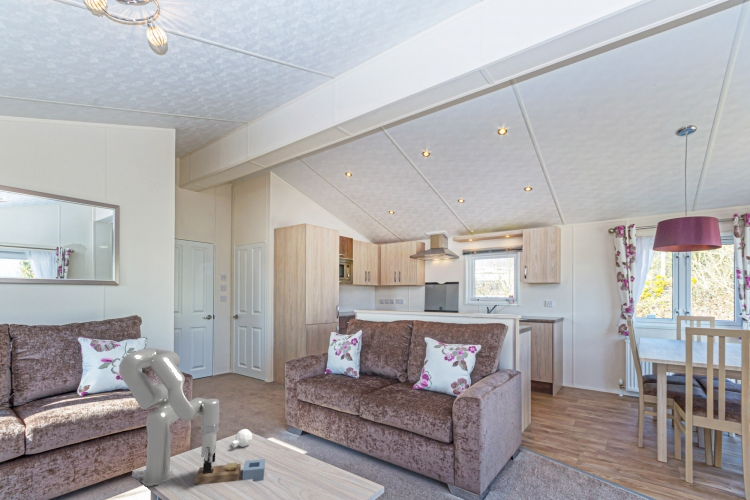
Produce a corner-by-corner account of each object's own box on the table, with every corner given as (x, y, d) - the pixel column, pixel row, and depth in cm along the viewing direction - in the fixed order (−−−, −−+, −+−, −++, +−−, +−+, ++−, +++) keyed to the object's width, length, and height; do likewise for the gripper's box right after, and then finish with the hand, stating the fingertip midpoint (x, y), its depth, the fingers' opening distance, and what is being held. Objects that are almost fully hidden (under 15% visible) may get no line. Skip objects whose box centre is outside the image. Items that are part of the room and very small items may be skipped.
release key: (225, 478, 175) (226, 466, 176) (226, 474, 179) (227, 463, 179) (235, 476, 176) (236, 465, 177) (236, 473, 180) (237, 462, 180)
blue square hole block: (242, 482, 174) (242, 470, 174) (244, 471, 184) (245, 460, 184) (263, 480, 176) (263, 468, 176) (264, 469, 186) (264, 459, 186)
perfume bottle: (243, 437, 221) (226, 447, 210) (246, 423, 219) (229, 432, 209) (254, 444, 217) (237, 455, 206) (257, 430, 215) (240, 440, 205)
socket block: (194, 487, 170) (195, 477, 170) (199, 476, 179) (199, 467, 180) (237, 482, 174) (238, 473, 174) (240, 472, 183) (240, 463, 184)
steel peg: (203, 480, 174) (204, 457, 175) (205, 477, 177) (205, 454, 178) (210, 479, 174) (211, 456, 175) (212, 476, 177) (212, 453, 178)
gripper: (205, 422, 185) (204, 459, 183) (197, 435, 168) (196, 476, 167) (221, 420, 187) (221, 457, 185) (215, 433, 170) (214, 474, 168)
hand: (209, 466), depth 176 cm, fingers open, 9 cm apart
